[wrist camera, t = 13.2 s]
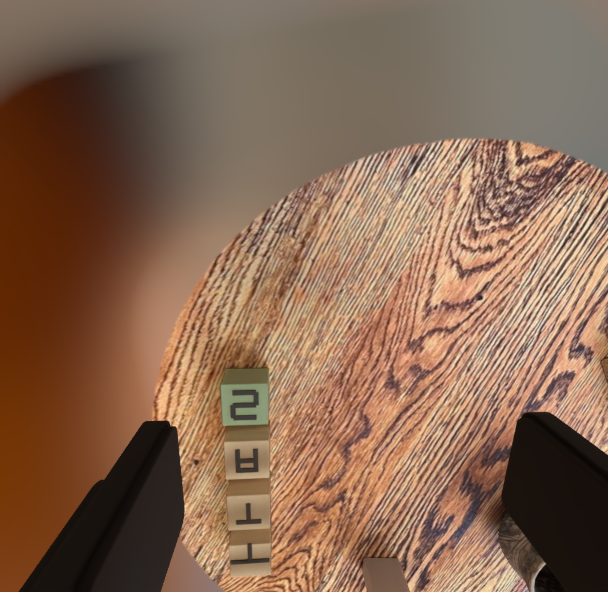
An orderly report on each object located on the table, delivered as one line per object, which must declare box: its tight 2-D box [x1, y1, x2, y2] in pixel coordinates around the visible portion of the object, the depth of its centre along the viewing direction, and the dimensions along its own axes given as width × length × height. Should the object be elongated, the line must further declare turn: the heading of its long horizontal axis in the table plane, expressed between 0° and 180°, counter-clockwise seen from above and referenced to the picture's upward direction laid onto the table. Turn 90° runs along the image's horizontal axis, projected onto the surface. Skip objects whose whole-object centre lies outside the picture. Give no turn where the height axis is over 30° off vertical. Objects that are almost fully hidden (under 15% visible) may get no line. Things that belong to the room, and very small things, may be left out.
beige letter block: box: [229, 517, 272, 578], centre depth 32 cm, size 4×4×3 cm
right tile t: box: [226, 471, 271, 531], centre depth 31 cm, size 4×4×3 cm
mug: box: [498, 513, 567, 592], centre depth 32 cm, size 10×12×10 cm
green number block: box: [220, 368, 269, 426], centre depth 29 cm, size 4×4×3 cm
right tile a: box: [224, 420, 270, 480], centre depth 30 cm, size 4×4×3 cm
